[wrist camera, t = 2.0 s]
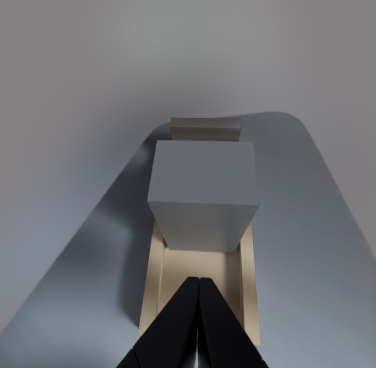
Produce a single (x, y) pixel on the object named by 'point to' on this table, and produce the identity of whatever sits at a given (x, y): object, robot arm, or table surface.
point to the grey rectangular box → (203, 193)
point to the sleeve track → (197, 260)
